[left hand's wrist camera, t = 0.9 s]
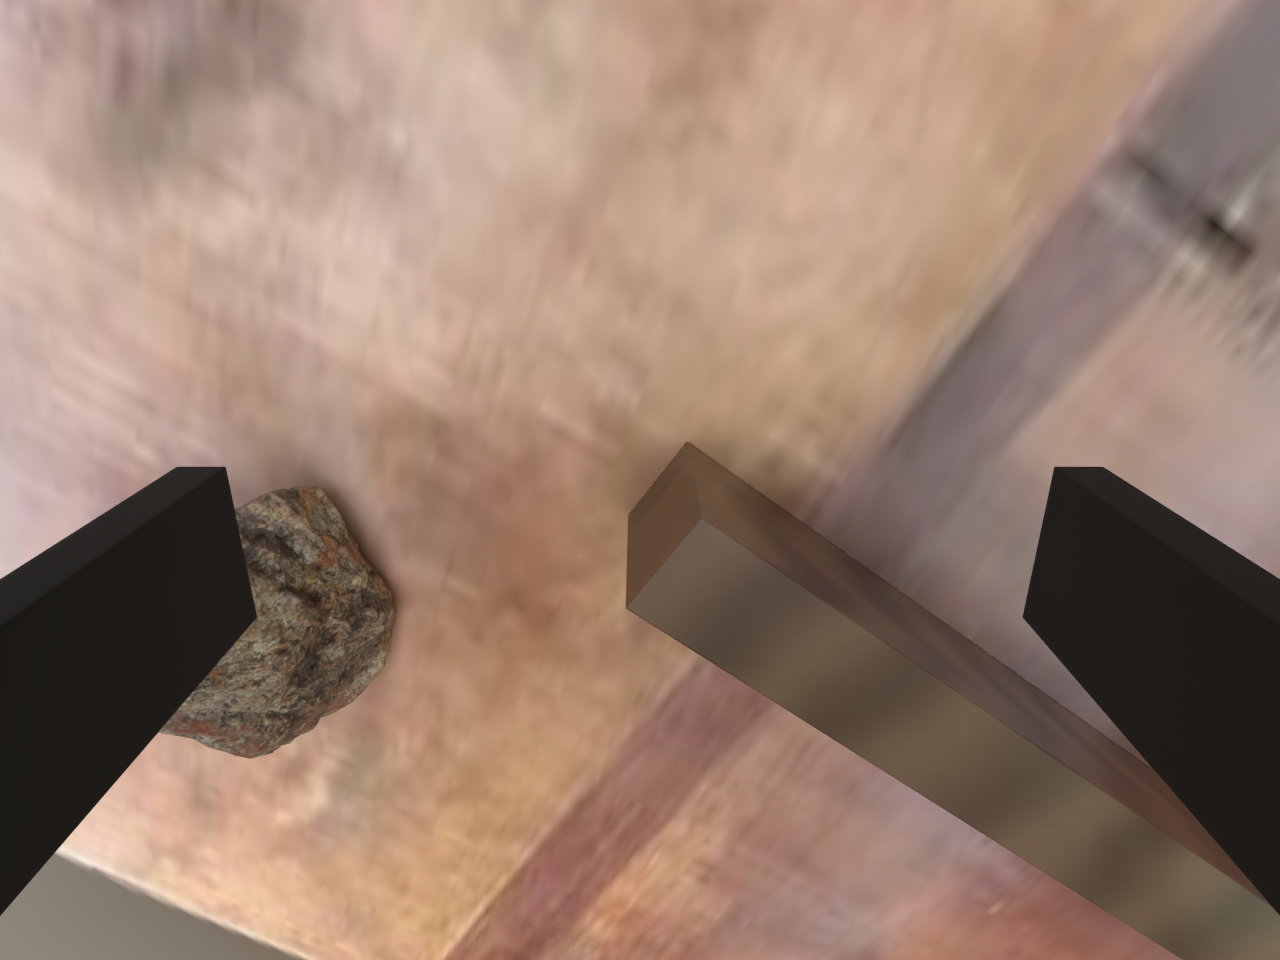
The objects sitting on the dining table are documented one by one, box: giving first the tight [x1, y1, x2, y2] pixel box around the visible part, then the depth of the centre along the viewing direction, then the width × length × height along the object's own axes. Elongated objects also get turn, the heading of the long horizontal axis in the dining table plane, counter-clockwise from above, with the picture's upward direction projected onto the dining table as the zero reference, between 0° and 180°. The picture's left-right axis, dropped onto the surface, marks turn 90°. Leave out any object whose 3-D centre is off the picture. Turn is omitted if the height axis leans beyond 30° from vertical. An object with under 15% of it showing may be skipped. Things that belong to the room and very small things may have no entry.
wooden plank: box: [626, 442, 1280, 960], centre depth 38 cm, size 60×4×8 cm, turn 54°
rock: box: [159, 487, 396, 758], centre depth 33 cm, size 14×9×10 cm
